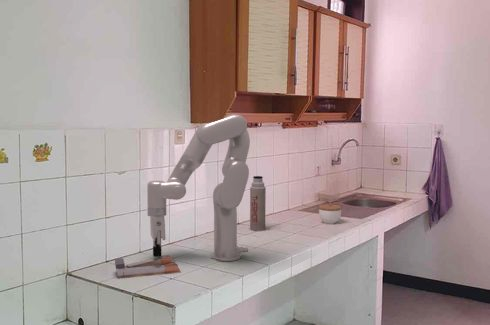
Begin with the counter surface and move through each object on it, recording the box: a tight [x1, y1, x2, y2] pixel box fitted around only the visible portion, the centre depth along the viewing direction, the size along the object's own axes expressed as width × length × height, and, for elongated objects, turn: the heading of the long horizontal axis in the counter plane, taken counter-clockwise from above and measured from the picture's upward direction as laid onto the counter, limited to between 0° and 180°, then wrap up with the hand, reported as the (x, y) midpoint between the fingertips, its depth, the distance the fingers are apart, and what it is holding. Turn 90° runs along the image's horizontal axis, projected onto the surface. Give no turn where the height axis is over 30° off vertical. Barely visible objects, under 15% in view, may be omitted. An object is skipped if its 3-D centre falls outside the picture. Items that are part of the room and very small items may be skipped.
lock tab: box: [114, 258, 126, 270], centre depth 184 cm, size 3×7×2 cm, turn 18°
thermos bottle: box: [249, 175, 267, 232], centre depth 260 cm, size 8×8×28 cm
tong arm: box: [125, 254, 173, 268], centre depth 193 cm, size 19×3×2 cm, turn 133°
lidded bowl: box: [318, 202, 343, 225], centre depth 278 cm, size 13×13×11 cm
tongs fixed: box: [116, 263, 179, 278], centre depth 187 cm, size 22×7×3 cm, turn 108°
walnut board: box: [115, 260, 182, 279], centre depth 190 cm, size 23×15×1 cm, turn 108°
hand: (157, 255), depth 203 cm, fingers closed
